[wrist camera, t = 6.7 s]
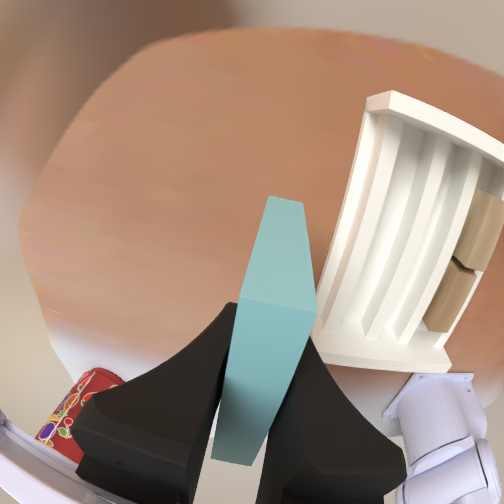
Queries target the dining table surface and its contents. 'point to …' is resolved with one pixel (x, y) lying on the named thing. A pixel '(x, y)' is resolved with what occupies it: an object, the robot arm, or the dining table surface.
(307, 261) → the teal square slab
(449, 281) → the offcut
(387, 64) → the dining table surface
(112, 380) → the smoothie
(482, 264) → the offcut
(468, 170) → the rack
